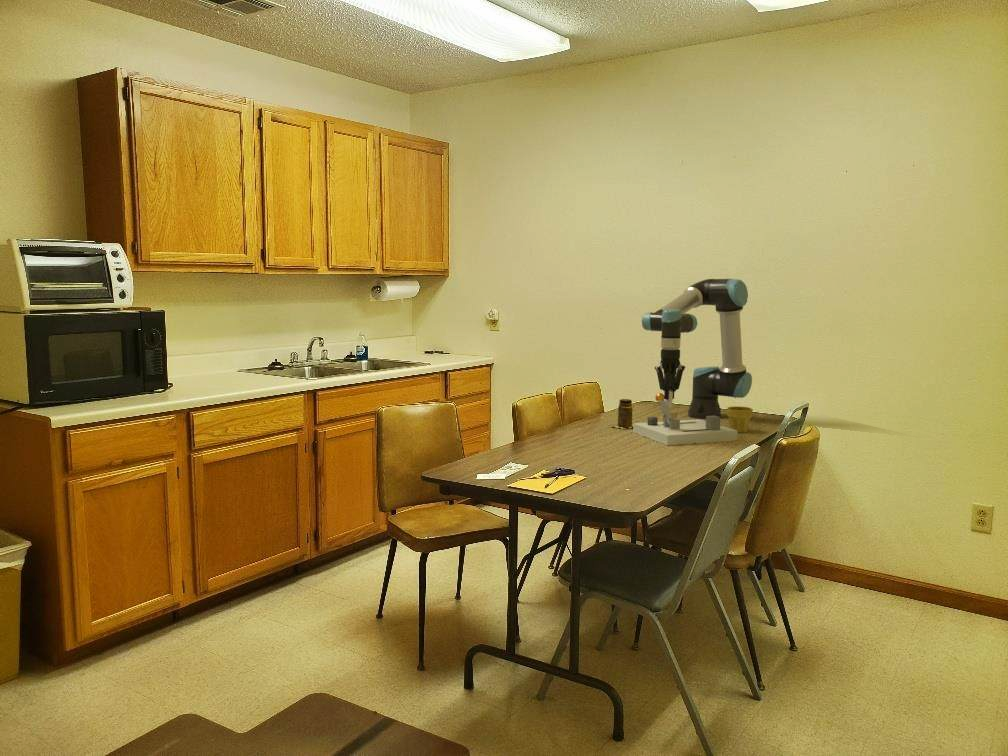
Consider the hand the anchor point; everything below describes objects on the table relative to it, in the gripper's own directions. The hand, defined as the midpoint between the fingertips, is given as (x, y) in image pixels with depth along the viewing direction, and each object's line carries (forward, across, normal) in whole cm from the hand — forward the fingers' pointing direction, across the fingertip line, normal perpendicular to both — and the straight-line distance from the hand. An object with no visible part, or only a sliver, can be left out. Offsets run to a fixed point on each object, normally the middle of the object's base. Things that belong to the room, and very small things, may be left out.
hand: (668, 407), depth 309 cm
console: (+12, +8, 0) cm, 15 cm away
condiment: (+13, -6, +25) cm, 29 cm away
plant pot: (+13, +37, +3) cm, 39 cm away
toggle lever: (+7, +2, 0) cm, 7 cm away
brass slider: (+8, +5, +7) cm, 12 cm away
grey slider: (+8, +16, -8) cm, 19 cm away
